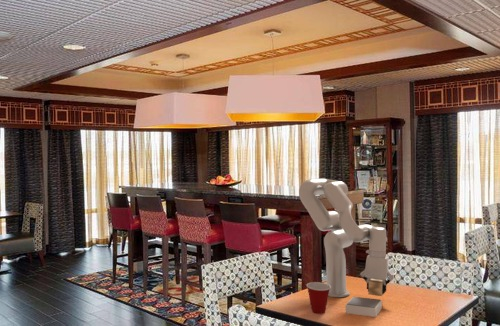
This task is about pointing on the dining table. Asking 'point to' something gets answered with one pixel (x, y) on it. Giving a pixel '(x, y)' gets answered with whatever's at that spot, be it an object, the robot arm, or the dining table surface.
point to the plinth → (364, 306)
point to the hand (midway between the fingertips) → (376, 291)
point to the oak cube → (375, 287)
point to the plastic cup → (318, 296)
